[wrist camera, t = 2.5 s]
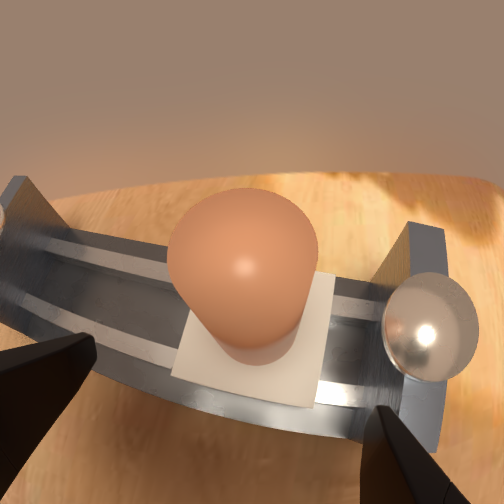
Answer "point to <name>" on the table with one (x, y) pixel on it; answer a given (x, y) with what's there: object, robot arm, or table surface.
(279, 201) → the carriage
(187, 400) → the rail
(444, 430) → the table surface
